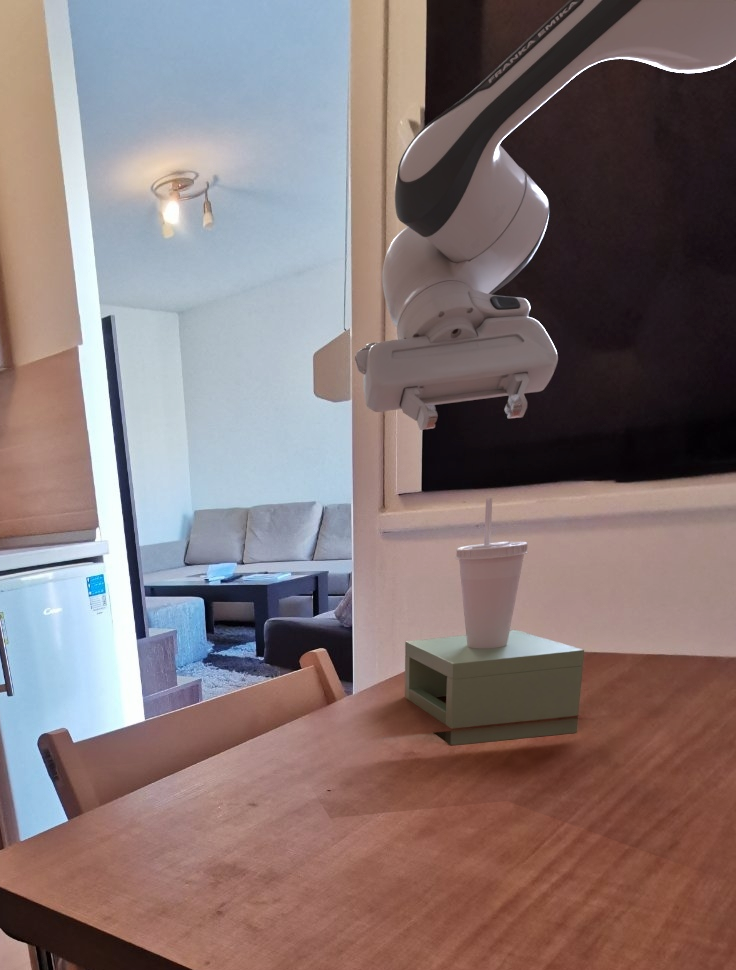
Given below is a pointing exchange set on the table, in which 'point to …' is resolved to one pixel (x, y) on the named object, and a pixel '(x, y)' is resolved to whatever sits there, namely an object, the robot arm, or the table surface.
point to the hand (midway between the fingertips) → (473, 418)
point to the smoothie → (489, 587)
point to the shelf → (495, 686)
